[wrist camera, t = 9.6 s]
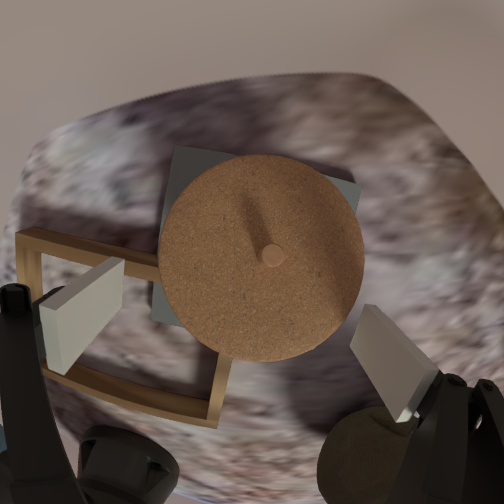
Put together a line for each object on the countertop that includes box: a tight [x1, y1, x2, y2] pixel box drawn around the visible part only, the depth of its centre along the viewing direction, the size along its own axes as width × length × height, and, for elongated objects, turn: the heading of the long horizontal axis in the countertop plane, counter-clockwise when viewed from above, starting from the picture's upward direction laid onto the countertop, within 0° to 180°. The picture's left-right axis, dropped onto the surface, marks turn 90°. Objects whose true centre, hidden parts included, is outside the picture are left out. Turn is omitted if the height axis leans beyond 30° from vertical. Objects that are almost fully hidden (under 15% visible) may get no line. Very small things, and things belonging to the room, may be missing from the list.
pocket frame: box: [15, 227, 233, 429], centre depth 25 cm, size 16×22×3 cm
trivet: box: [151, 145, 362, 350], centre depth 24 cm, size 15×15×1 cm
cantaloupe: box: [317, 406, 418, 504], centre depth 23 cm, size 14×14×15 cm
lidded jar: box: [158, 154, 365, 362], centre depth 17 cm, size 11×11×9 cm
